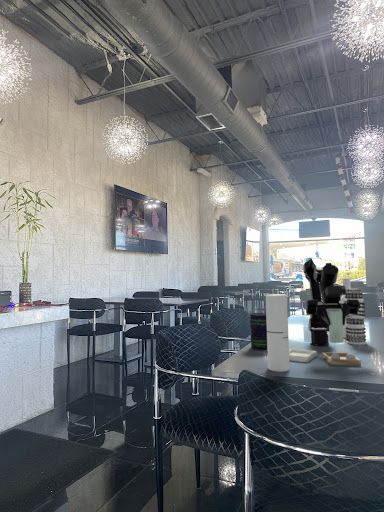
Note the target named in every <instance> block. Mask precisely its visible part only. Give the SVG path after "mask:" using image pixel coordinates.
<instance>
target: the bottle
mask: <svg viewBox="0 0 384 512" xmlns="http://www.w3.org/2000/svg"><path fill="white" fill-rule="evenodd" d="M351 283H352V282H351V277H343V278H342V285H344V286H345V288H346V290H347V289H352V286H351ZM340 298H341V300H340V301H339V303H341V304H343V303H344V301H345V295H341V296H340ZM339 311H341V310H339ZM345 328H346V318H345V325H343V339H345V340H346V338H347V337H346V334H347V333H346V330H347V329H345Z"/></svg>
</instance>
